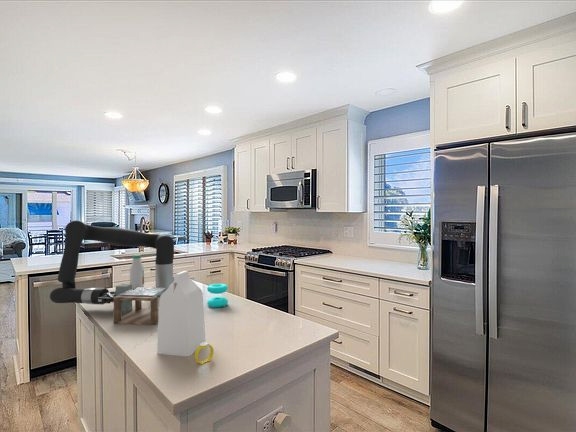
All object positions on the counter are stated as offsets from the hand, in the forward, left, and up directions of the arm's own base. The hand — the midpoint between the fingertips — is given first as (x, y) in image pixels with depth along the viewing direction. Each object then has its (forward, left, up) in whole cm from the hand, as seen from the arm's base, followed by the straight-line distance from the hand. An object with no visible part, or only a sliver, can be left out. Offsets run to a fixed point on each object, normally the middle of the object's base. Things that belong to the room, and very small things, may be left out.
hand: (127, 296), depth 153 cm
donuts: (-37, +19, -7) cm, 42 cm away
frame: (-4, +15, -7) cm, 16 cm away
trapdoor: (-3, +14, +2) cm, 14 cm away
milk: (-4, +56, -7) cm, 56 cm away
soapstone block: (+1, -1, -7) cm, 7 cm away
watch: (-5, +71, -7) cm, 71 cm away
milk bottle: (-16, -43, -7) cm, 47 cm away
